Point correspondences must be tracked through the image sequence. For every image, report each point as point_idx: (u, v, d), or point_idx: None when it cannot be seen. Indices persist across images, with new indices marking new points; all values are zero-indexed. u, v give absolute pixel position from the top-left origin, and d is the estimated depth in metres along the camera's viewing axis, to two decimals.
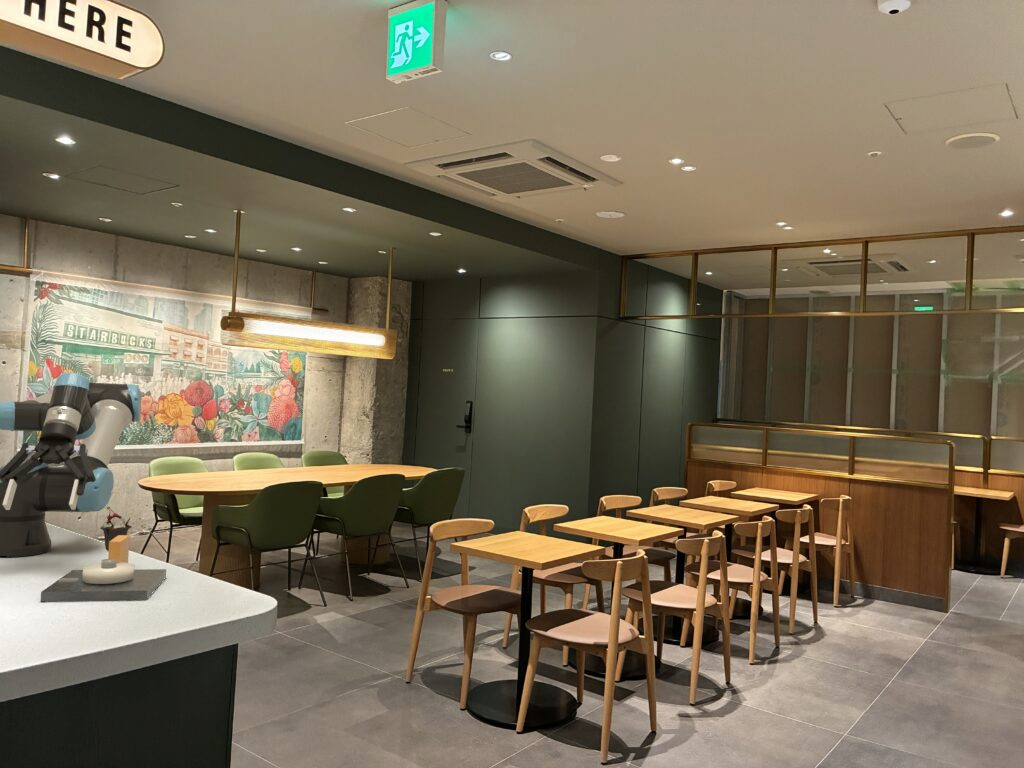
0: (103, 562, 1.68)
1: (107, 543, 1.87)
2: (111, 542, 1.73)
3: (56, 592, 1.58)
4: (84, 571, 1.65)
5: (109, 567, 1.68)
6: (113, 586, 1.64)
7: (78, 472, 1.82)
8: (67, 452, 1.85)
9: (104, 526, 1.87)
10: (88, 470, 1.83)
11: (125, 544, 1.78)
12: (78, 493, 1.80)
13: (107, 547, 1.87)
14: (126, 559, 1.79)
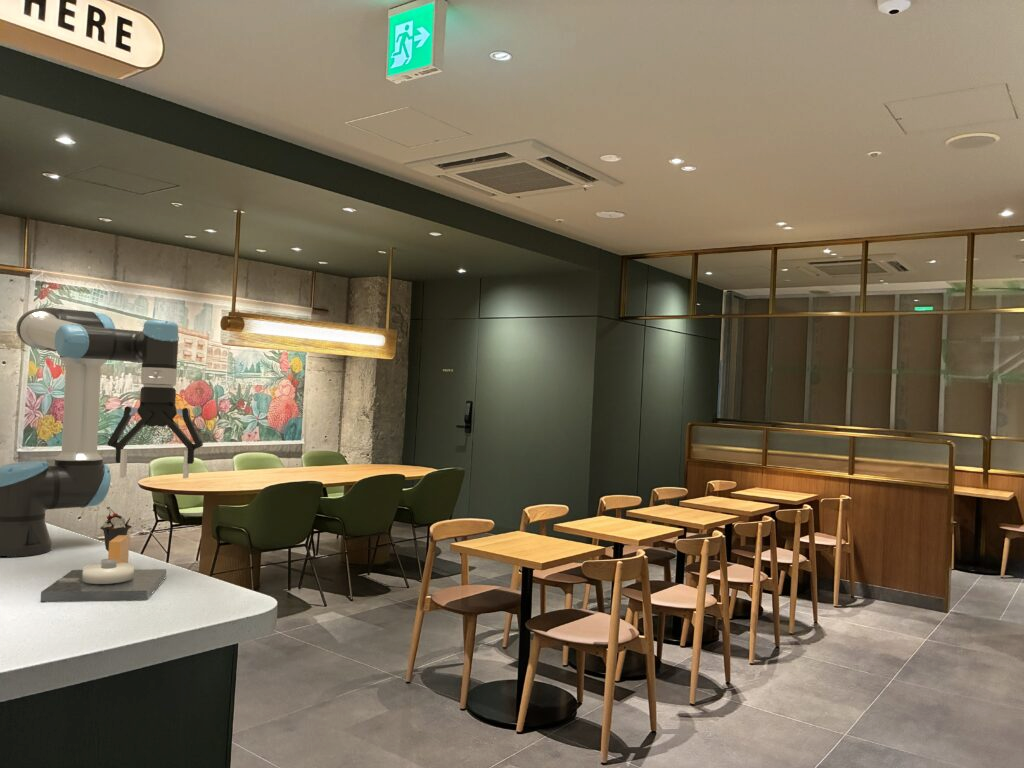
0: (103, 562, 1.68)
1: (107, 543, 1.87)
2: (111, 542, 1.73)
3: (56, 592, 1.58)
4: (84, 571, 1.65)
5: (109, 567, 1.68)
6: (113, 586, 1.64)
7: (186, 441, 1.80)
8: (171, 417, 1.80)
9: (104, 526, 1.87)
10: (195, 439, 1.81)
11: (125, 544, 1.78)
12: None
13: (107, 547, 1.87)
14: (126, 559, 1.79)
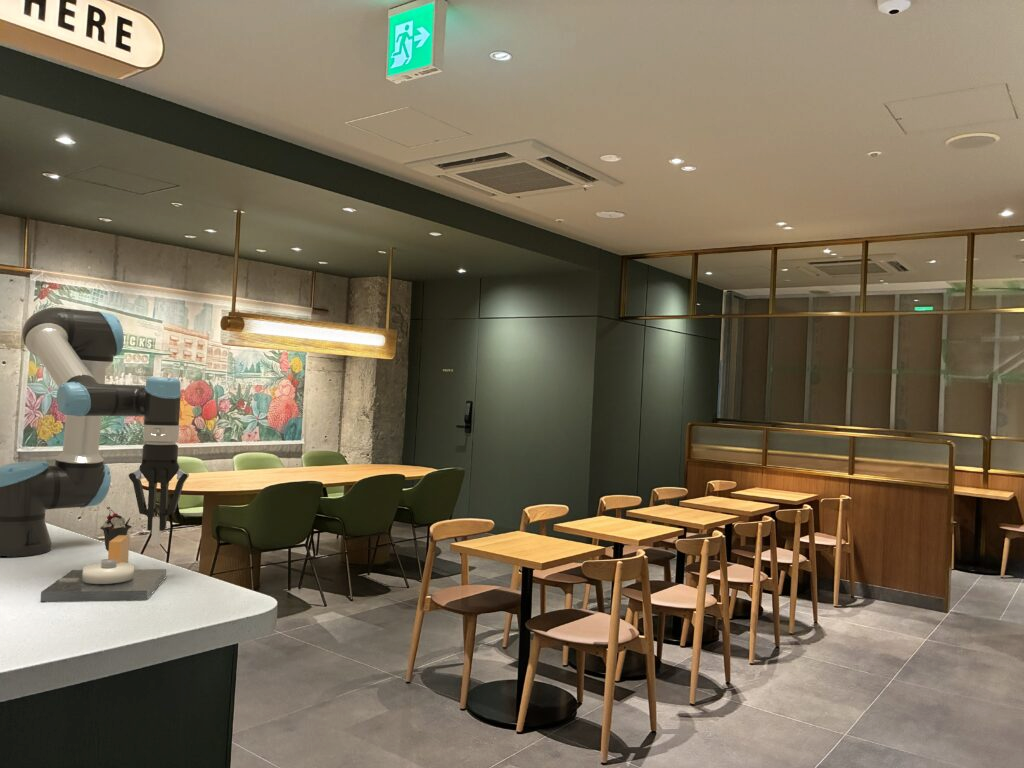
0: (103, 562, 1.68)
1: (107, 543, 1.87)
2: (111, 542, 1.73)
3: (56, 592, 1.58)
4: (84, 571, 1.65)
5: (109, 567, 1.68)
6: (113, 586, 1.64)
7: (163, 507, 1.79)
8: (169, 473, 1.80)
9: (104, 526, 1.87)
10: (172, 505, 1.79)
11: (125, 544, 1.78)
12: None
13: (107, 547, 1.87)
14: (126, 559, 1.79)
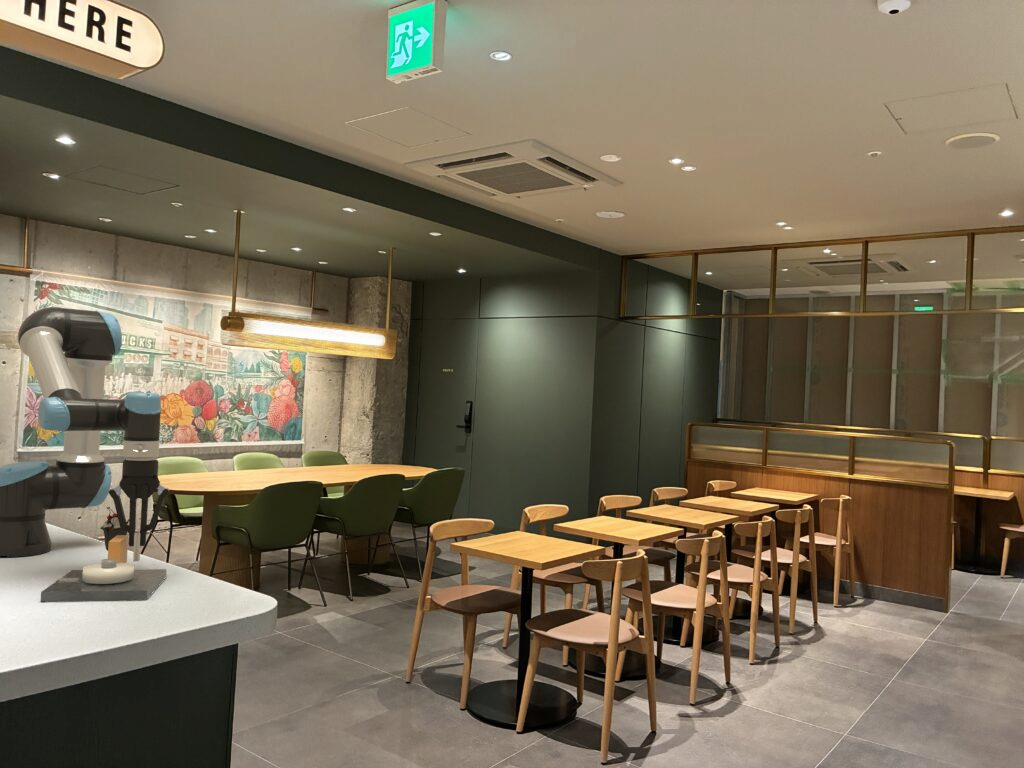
0: (103, 562, 1.68)
1: (107, 543, 1.87)
2: (111, 542, 1.73)
3: (56, 592, 1.58)
4: (84, 571, 1.65)
5: (109, 567, 1.68)
6: (113, 586, 1.64)
7: (144, 523, 1.79)
8: (150, 488, 1.79)
9: (104, 526, 1.87)
10: (153, 521, 1.79)
11: (124, 544, 1.78)
12: (141, 545, 1.79)
13: (107, 547, 1.87)
14: (125, 559, 1.79)
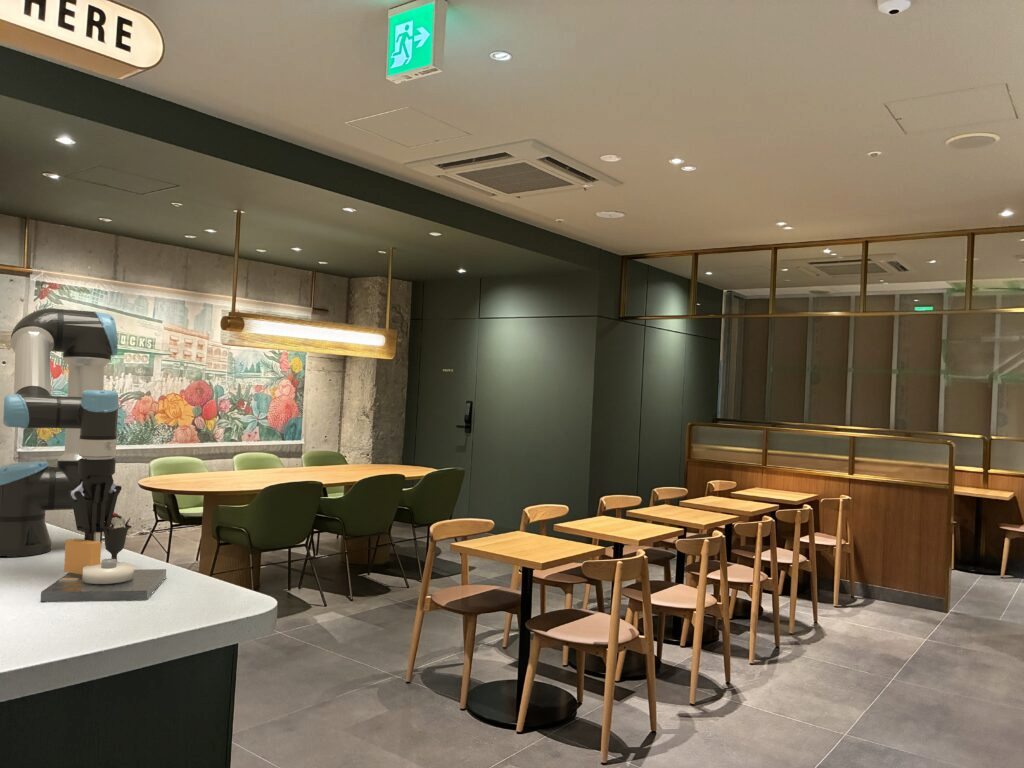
0: (110, 562, 1.68)
1: (107, 543, 1.87)
2: (93, 544, 1.70)
3: (56, 592, 1.58)
4: (102, 573, 1.64)
5: (115, 566, 1.69)
6: (113, 586, 1.64)
7: (103, 521, 1.77)
8: None
9: None
10: (109, 518, 1.79)
11: None
12: None
13: (107, 547, 1.87)
14: None
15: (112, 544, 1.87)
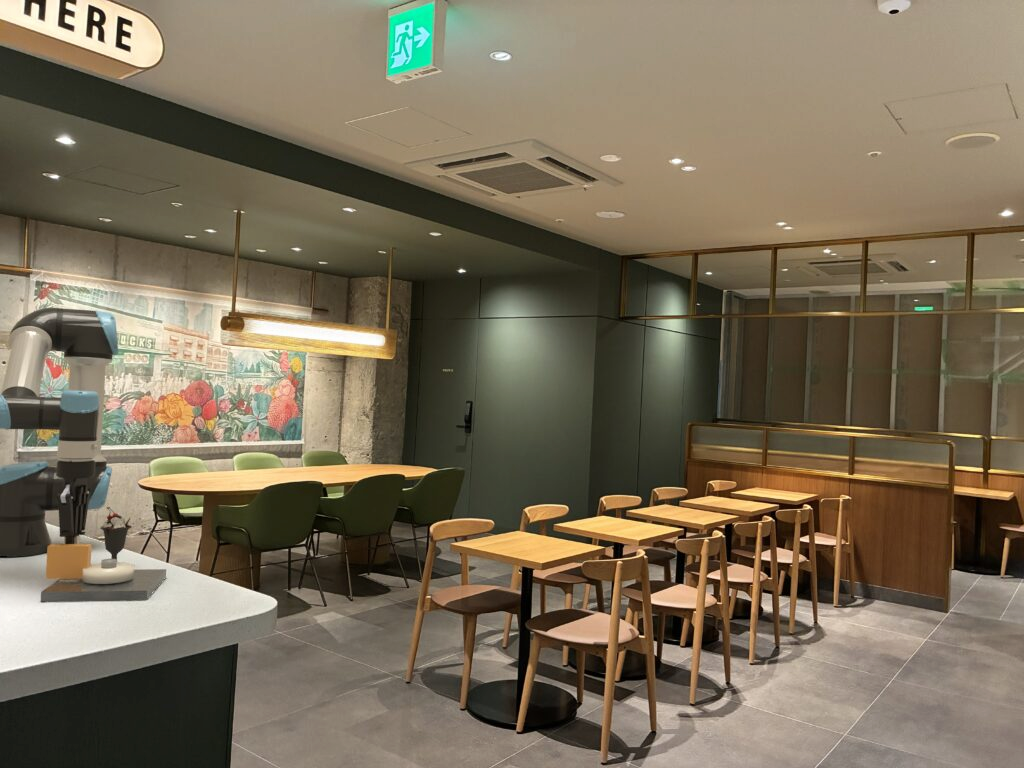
0: (114, 562, 1.69)
1: (107, 543, 1.87)
2: (88, 546, 1.68)
3: (56, 592, 1.58)
4: (118, 572, 1.66)
5: (116, 565, 1.70)
6: (113, 586, 1.64)
7: (81, 524, 1.73)
8: None
9: (104, 526, 1.87)
10: (84, 521, 1.75)
11: None
12: None
13: (107, 547, 1.87)
14: None
15: (112, 544, 1.87)
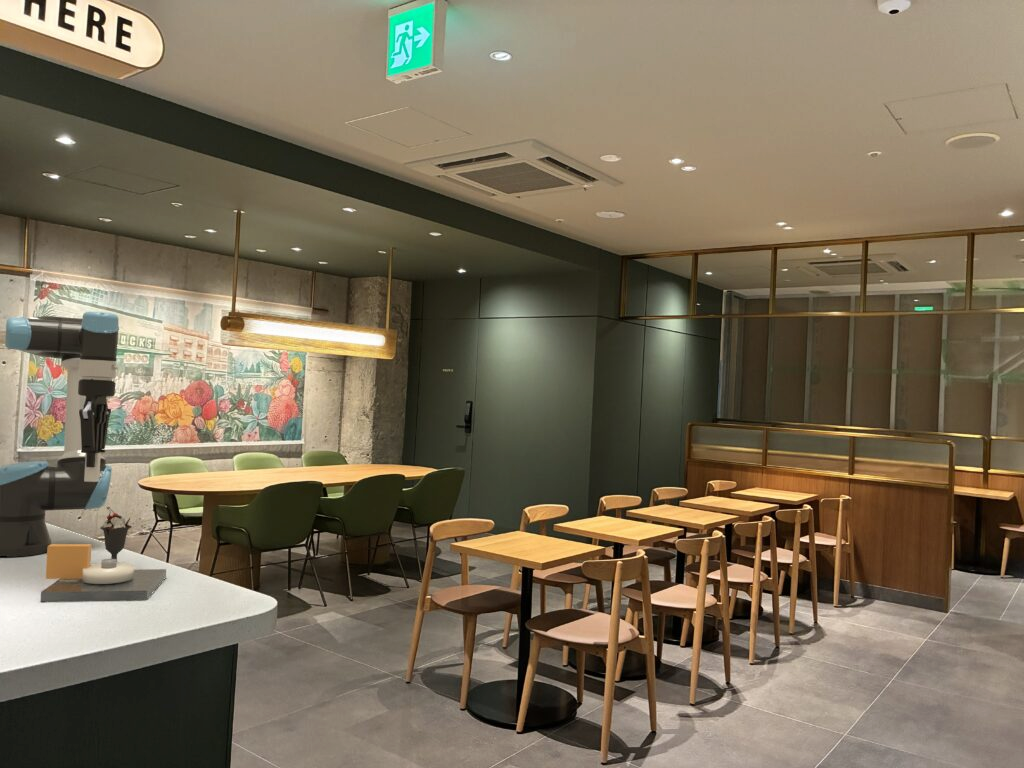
0: (114, 562, 1.69)
1: (107, 543, 1.87)
2: (88, 546, 1.68)
3: (56, 592, 1.58)
4: (118, 572, 1.66)
5: (116, 565, 1.70)
6: (113, 586, 1.64)
7: (101, 442, 1.79)
8: None
9: (104, 526, 1.87)
10: (104, 440, 1.81)
11: None
12: None
13: (107, 547, 1.87)
14: None
15: (112, 544, 1.87)
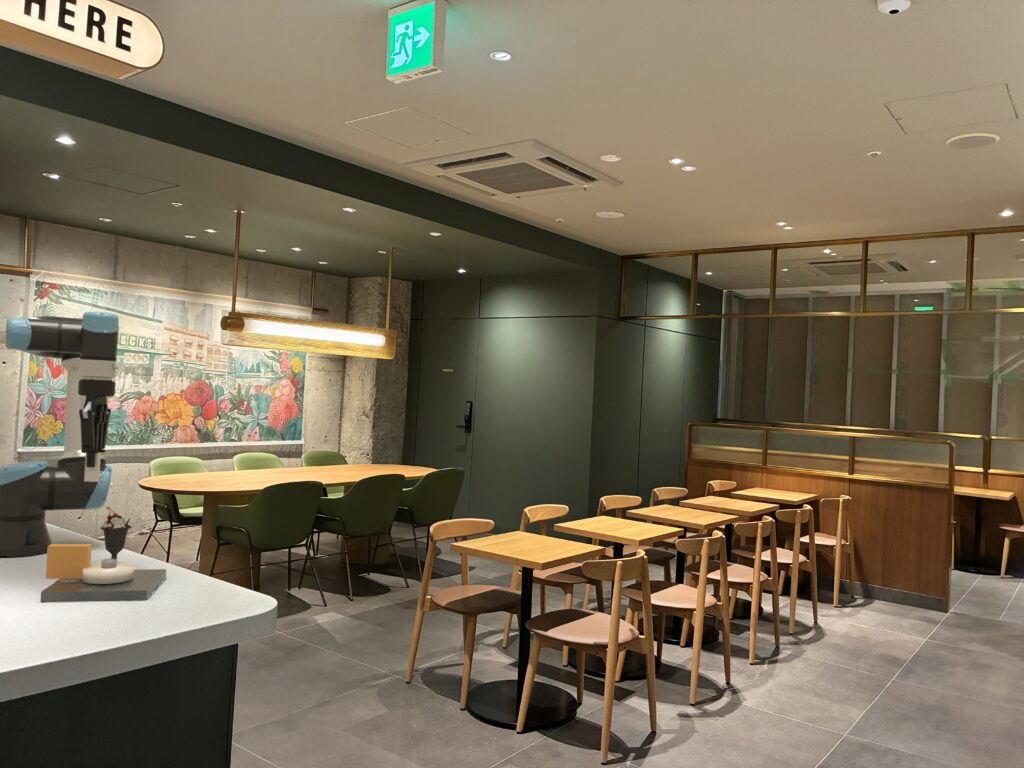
0: (114, 562, 1.69)
1: (107, 543, 1.87)
2: (88, 546, 1.68)
3: (56, 592, 1.58)
4: (118, 572, 1.66)
5: (116, 565, 1.70)
6: (113, 586, 1.64)
7: (101, 442, 1.79)
8: None
9: (104, 526, 1.87)
10: (104, 440, 1.81)
11: None
12: None
13: (107, 547, 1.87)
14: None
15: (112, 544, 1.87)
